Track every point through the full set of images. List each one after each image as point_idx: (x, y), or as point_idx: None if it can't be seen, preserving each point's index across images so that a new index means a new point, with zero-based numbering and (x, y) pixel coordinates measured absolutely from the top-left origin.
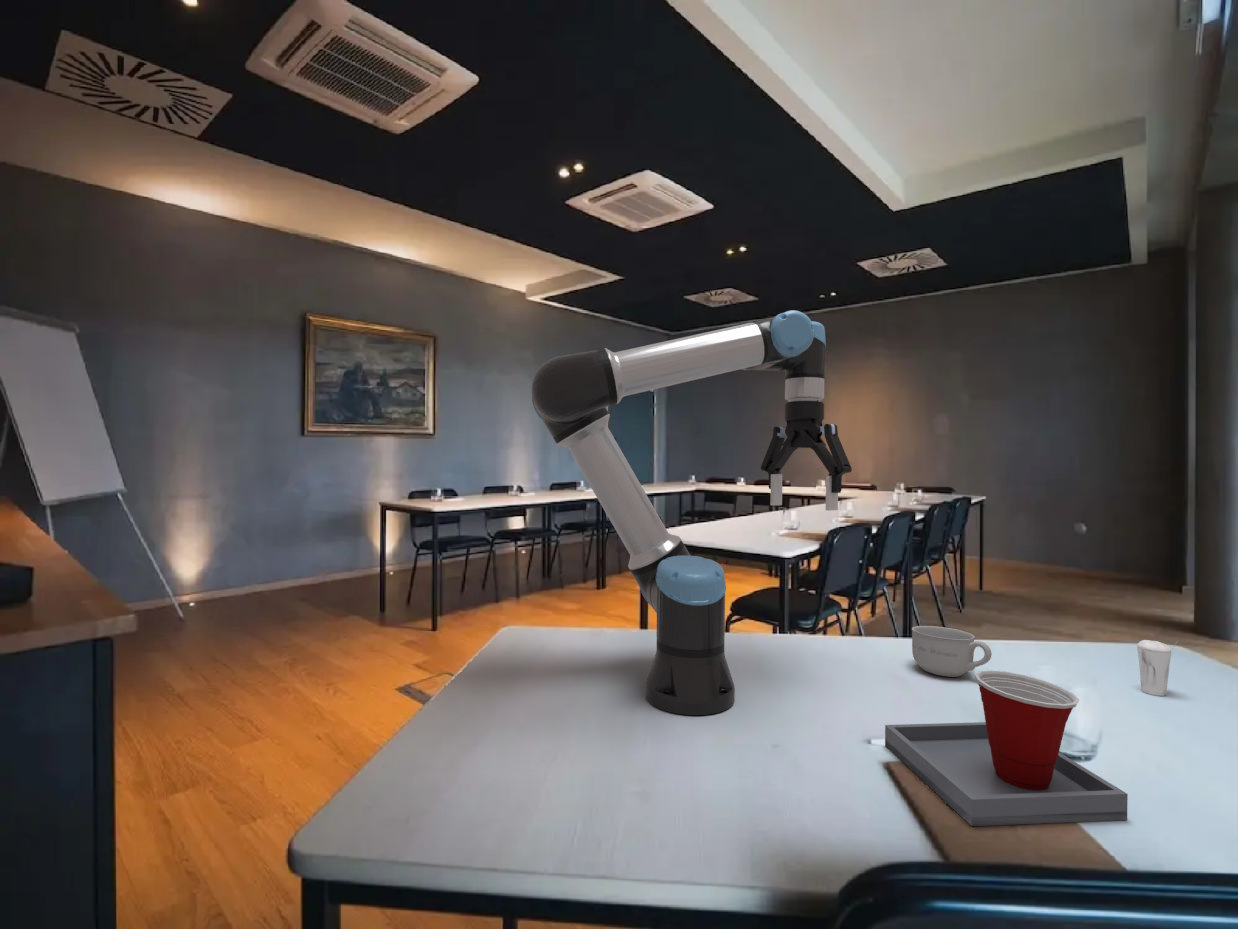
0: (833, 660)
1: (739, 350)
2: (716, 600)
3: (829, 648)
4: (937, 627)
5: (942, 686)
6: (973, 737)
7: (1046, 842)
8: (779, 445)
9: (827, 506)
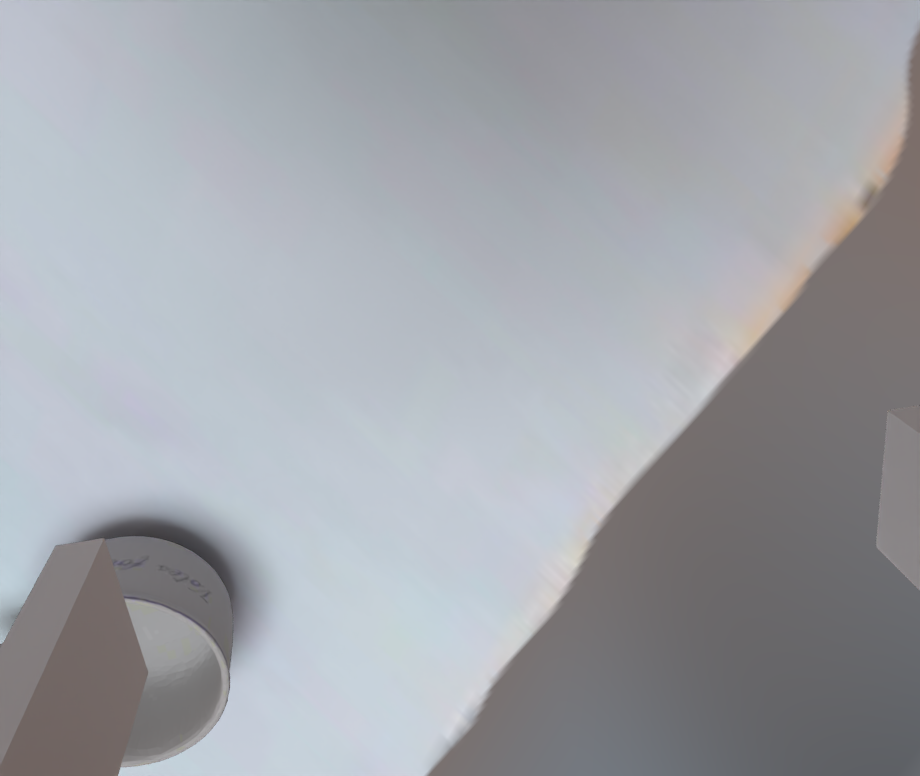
0: (388, 352)
1: None
2: None
3: (499, 436)
4: (200, 731)
5: (38, 491)
6: None
7: None
8: None
9: (65, 571)
